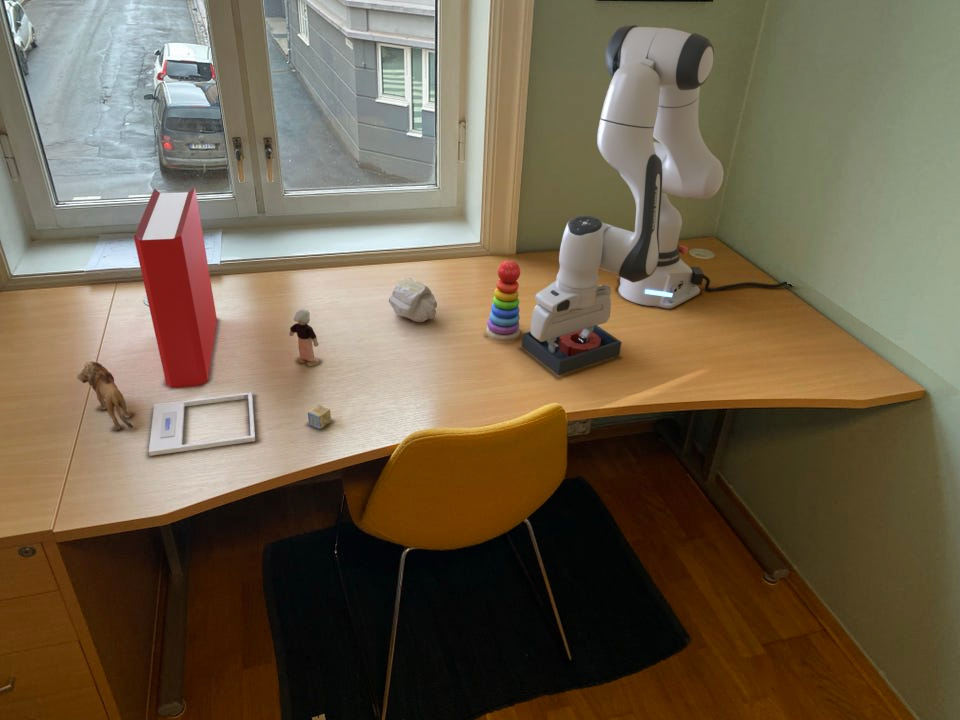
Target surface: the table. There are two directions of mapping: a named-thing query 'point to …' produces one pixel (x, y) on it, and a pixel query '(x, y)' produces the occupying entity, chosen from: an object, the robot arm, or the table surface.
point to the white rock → (413, 300)
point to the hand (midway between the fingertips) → (567, 346)
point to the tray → (569, 363)
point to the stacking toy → (505, 304)
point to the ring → (572, 348)
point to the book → (178, 286)
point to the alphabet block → (319, 417)
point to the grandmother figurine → (304, 337)
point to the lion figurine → (105, 391)
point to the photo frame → (171, 422)
